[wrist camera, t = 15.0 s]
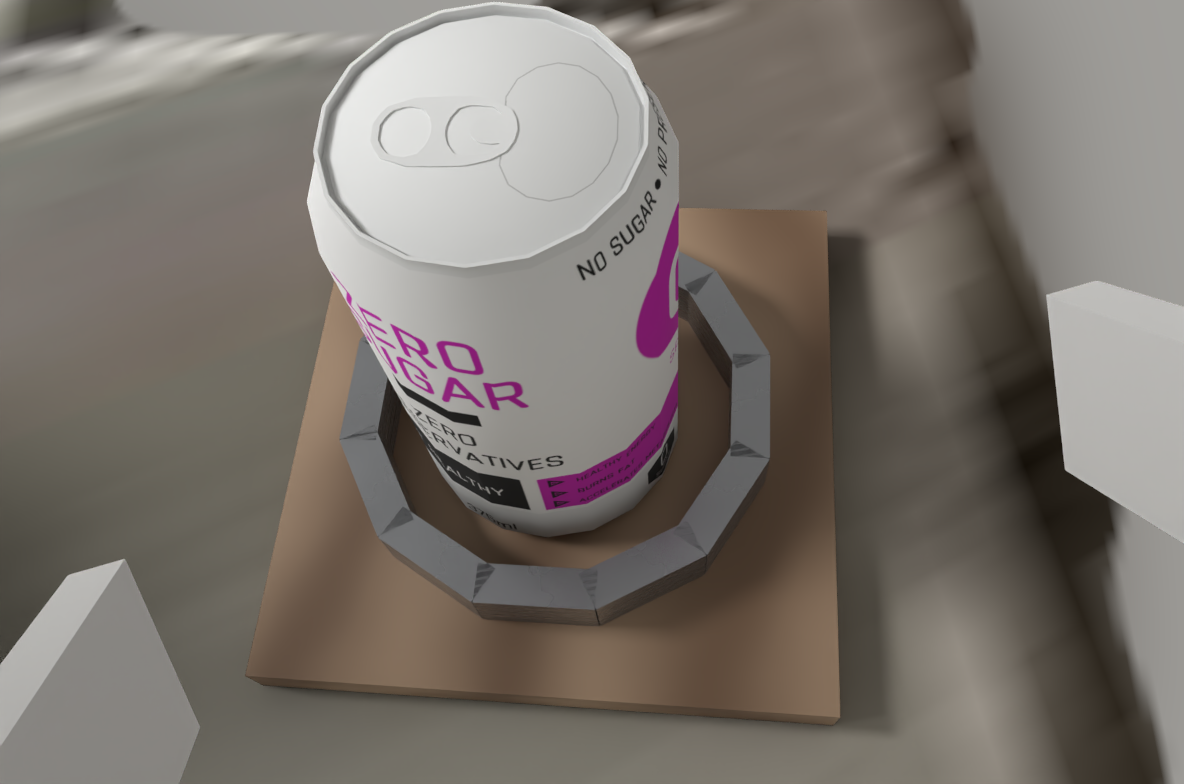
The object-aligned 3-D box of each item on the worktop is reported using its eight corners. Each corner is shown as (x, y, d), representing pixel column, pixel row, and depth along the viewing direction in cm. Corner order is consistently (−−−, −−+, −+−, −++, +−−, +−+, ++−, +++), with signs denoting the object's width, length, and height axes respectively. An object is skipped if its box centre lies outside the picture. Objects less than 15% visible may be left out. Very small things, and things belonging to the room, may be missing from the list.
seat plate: (262, 685, 33) (244, 676, 31) (362, 224, 41) (352, 201, 39) (833, 725, 31) (840, 717, 30) (821, 234, 39) (826, 211, 37)
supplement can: (677, 320, 36) (678, -26, 22) (677, 546, 32) (679, 293, 19) (450, 322, 36) (318, -13, 23) (424, 543, 33) (252, 297, 19)
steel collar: (318, 609, 32) (286, 582, 29) (391, 243, 38) (370, 193, 36) (763, 636, 31) (772, 611, 28) (766, 252, 37) (773, 201, 34)
